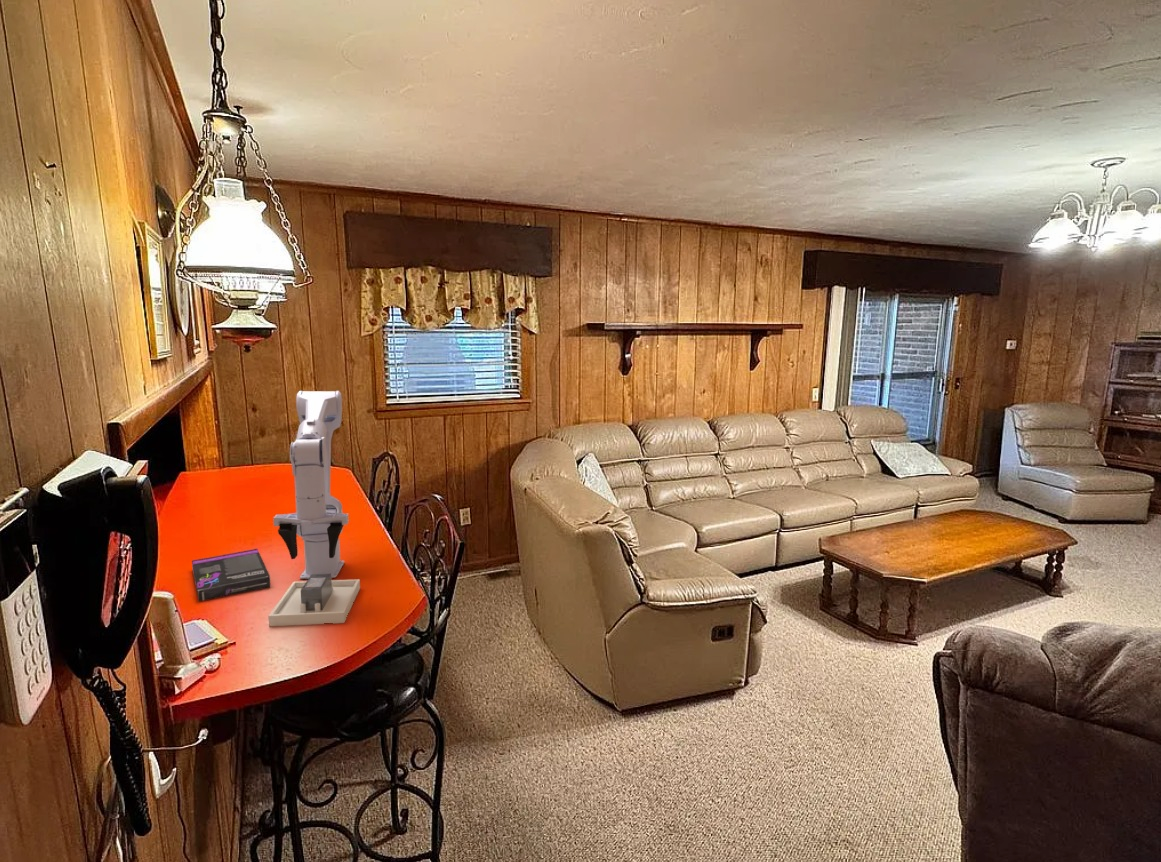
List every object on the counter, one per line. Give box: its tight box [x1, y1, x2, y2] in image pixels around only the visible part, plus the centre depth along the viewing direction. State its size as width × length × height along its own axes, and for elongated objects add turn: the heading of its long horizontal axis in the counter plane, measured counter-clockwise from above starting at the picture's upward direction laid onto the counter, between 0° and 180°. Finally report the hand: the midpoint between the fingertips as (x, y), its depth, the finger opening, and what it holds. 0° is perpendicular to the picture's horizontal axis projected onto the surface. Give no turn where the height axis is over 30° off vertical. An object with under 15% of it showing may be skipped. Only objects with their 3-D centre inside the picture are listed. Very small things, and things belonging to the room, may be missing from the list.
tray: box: [268, 578, 361, 627], centre depth 127 cm, size 16×14×3 cm
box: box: [191, 548, 271, 602], centre depth 139 cm, size 14×4×20 cm
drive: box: [301, 574, 332, 611], centre depth 126 cm, size 8×4×5 cm, turn 9°
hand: (313, 556), depth 129 cm, fingers open, 7 cm apart
